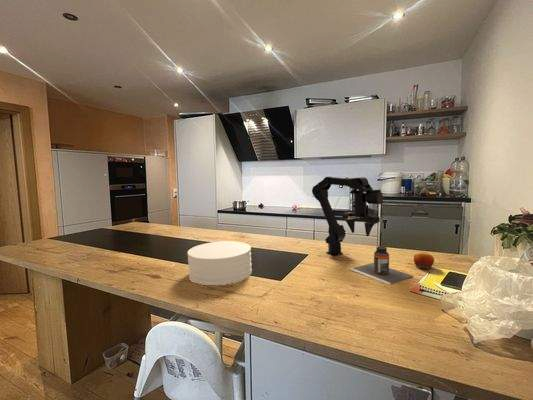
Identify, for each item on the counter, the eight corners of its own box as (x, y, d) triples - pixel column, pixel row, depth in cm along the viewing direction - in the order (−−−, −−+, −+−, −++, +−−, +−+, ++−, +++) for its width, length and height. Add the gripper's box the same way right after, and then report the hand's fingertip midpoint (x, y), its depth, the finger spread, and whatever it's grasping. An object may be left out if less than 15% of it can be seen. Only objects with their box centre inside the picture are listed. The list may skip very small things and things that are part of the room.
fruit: (413, 267, 118) (413, 249, 121) (413, 271, 124) (413, 254, 127) (435, 269, 114) (435, 251, 117) (433, 273, 121) (433, 256, 124)
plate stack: (241, 288, 106) (240, 260, 105) (176, 284, 112) (175, 257, 110) (257, 264, 133) (257, 241, 132) (205, 262, 139) (204, 240, 138)
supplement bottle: (372, 270, 119) (373, 245, 118) (387, 270, 118) (387, 245, 117) (375, 275, 113) (375, 248, 112) (390, 275, 112) (390, 249, 111)
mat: (349, 269, 121) (349, 268, 121) (373, 263, 129) (373, 262, 129) (388, 285, 104) (388, 284, 104) (413, 276, 111) (413, 275, 111)
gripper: (387, 203, 127) (387, 235, 129) (357, 200, 144) (357, 229, 145) (371, 205, 122) (371, 239, 123) (341, 202, 138) (341, 232, 140)
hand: (360, 234), depth 133 cm, fingers open, 9 cm apart
